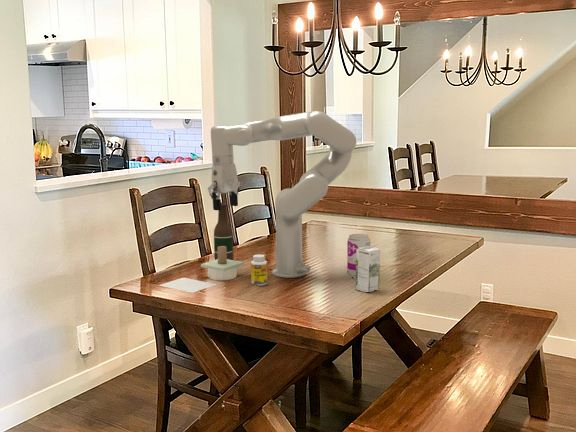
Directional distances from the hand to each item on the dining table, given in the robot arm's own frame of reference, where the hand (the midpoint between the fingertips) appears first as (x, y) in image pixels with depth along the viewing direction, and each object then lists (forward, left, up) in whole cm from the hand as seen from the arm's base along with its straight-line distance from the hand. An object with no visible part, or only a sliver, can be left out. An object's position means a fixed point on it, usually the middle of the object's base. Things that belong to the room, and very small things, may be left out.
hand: (225, 207), depth 222 cm
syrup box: (-52, -11, -25) cm, 59 cm away
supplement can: (-41, -25, -25) cm, 54 cm away
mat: (+2, +19, -25) cm, 31 cm away
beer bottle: (+14, -14, -25) cm, 33 cm away
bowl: (-1, +4, -25) cm, 25 cm away
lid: (-1, +3, -21) cm, 21 cm away
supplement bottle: (-17, +3, -25) cm, 31 cm away
